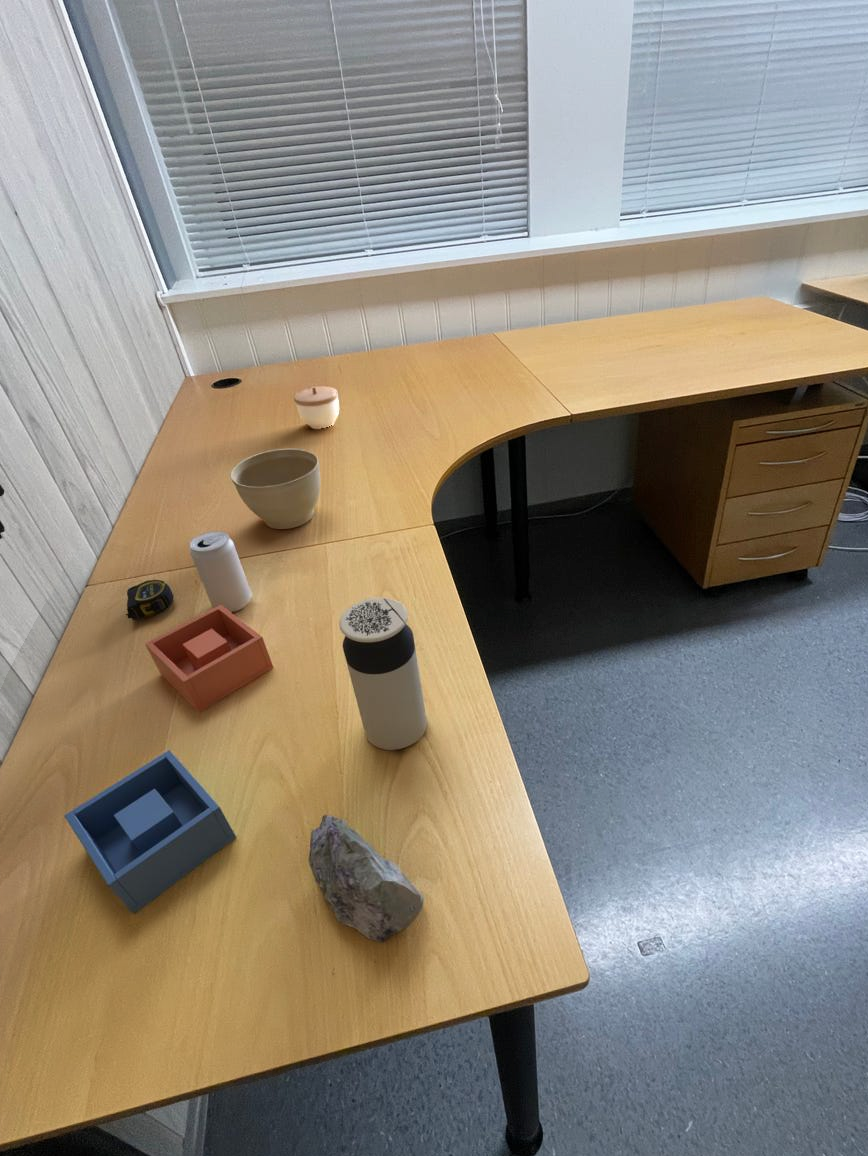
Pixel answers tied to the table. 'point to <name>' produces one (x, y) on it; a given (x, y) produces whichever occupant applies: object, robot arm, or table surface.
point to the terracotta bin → (219, 674)
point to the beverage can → (220, 570)
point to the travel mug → (384, 672)
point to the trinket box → (318, 406)
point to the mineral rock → (361, 882)
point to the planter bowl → (279, 486)
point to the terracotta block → (206, 648)
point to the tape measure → (148, 599)
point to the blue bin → (169, 858)
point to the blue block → (148, 821)
